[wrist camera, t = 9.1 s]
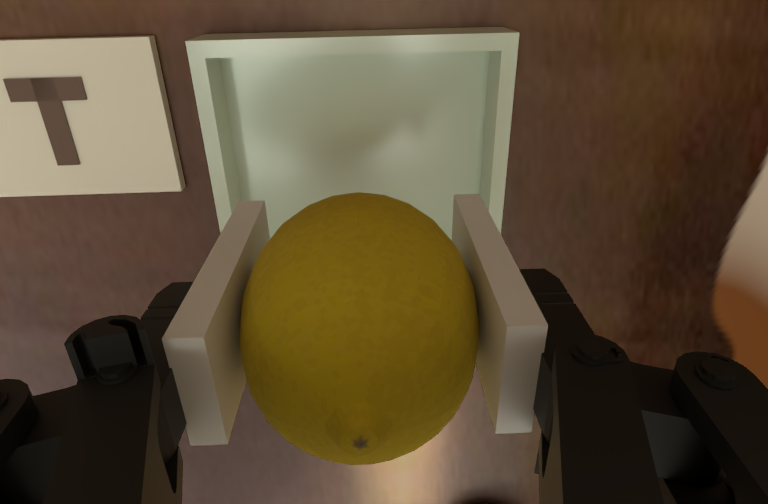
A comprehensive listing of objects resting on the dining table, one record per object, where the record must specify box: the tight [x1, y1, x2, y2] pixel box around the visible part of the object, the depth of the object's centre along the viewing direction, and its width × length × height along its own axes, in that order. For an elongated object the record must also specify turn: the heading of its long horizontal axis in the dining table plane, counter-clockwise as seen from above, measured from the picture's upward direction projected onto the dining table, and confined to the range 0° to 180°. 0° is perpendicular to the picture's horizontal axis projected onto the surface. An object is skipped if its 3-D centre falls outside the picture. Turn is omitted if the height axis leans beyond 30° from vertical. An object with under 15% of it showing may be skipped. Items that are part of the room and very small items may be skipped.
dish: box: [185, 27, 519, 241], centre depth 22 cm, size 12×10×3 cm
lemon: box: [240, 192, 479, 465], centre depth 13 cm, size 6×6×8 cm
